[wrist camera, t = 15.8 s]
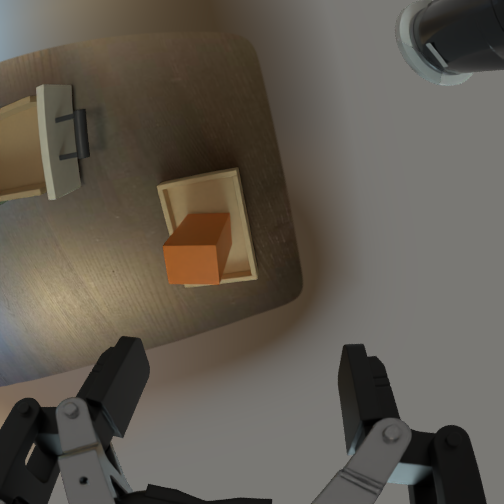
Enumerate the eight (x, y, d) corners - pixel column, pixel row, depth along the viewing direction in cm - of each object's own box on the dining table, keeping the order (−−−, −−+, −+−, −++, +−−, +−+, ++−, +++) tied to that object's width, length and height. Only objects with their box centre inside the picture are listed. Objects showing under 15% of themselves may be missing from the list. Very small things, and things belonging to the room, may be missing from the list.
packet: (229, 212, 37) (216, 245, 28) (231, 244, 38) (219, 284, 30) (187, 213, 37) (162, 245, 28) (191, 245, 39) (168, 284, 30)
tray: (162, 182, 36) (156, 185, 34) (238, 166, 35) (236, 169, 33) (188, 280, 41) (185, 287, 39) (258, 271, 40) (257, 279, 38)
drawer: (99, 77, 30) (72, 74, 25) (108, 183, 36) (84, 196, 30) (-11, 116, 32) (-38, 121, 26) (-1, 199, 37) (-25, 211, 32)
